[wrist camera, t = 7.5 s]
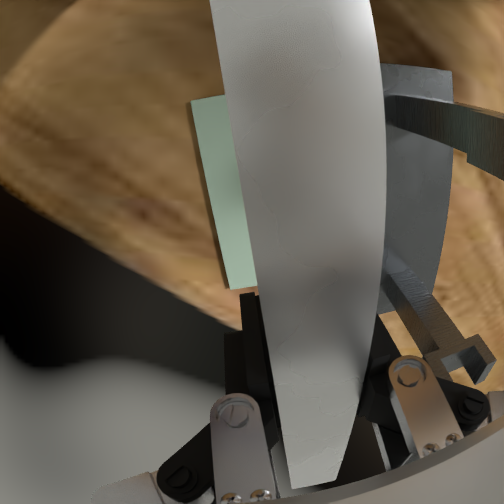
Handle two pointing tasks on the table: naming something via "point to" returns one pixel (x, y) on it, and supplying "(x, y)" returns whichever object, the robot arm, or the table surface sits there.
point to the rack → (429, 205)
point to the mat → (224, 188)
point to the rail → (310, 203)
